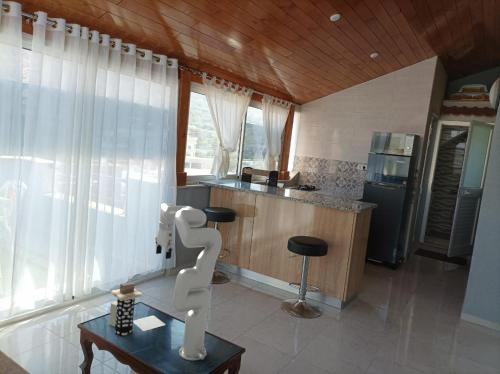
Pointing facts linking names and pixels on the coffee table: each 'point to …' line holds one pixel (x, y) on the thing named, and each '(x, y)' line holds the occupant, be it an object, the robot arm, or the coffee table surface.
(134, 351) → the coffee table surface
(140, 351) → the coffee table surface
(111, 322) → the skincare box
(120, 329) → the spotted tube
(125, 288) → the lid
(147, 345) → the coffee table surface
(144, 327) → the mat
